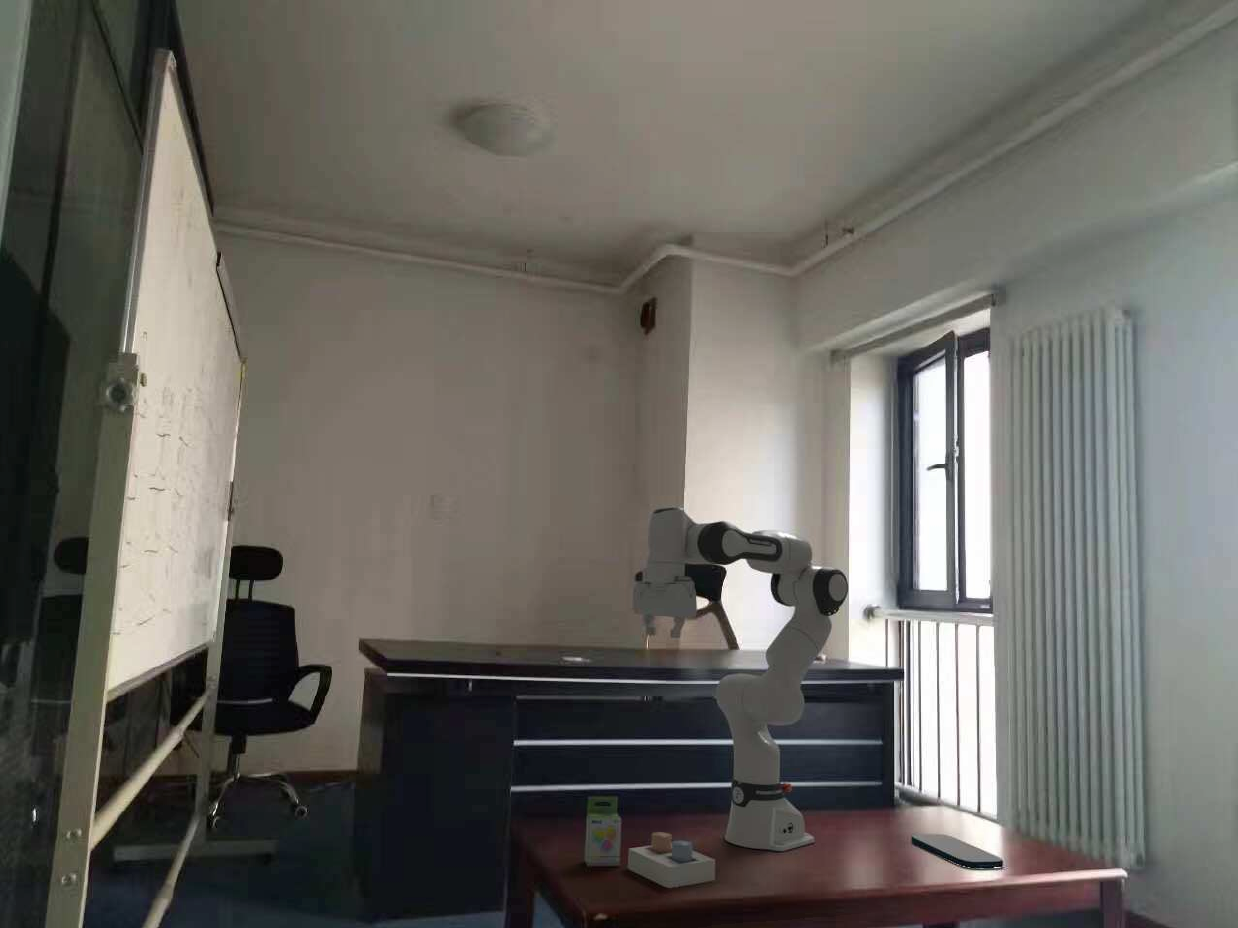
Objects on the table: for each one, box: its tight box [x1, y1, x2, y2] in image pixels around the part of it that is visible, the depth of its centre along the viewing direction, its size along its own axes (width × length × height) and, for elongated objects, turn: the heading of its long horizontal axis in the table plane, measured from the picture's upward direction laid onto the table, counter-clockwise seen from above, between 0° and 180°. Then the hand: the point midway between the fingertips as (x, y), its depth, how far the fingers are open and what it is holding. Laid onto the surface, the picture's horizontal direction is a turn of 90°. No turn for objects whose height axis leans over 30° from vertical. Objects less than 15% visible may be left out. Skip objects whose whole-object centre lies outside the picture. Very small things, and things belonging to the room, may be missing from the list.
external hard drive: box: [910, 833, 1004, 868], centre depth 212 cm, size 24×12×2 cm, turn 15°
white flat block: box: [627, 842, 716, 889], centre depth 184 cm, size 12×14×4 cm
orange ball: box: [650, 831, 673, 854], centre depth 187 cm, size 4×4×4 cm
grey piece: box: [671, 840, 694, 864], centre depth 181 cm, size 4×4×4 cm
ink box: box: [583, 796, 622, 867], centre depth 189 cm, size 7×4×13 cm, turn 103°
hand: (662, 636), depth 203 cm, fingers open, 8 cm apart
